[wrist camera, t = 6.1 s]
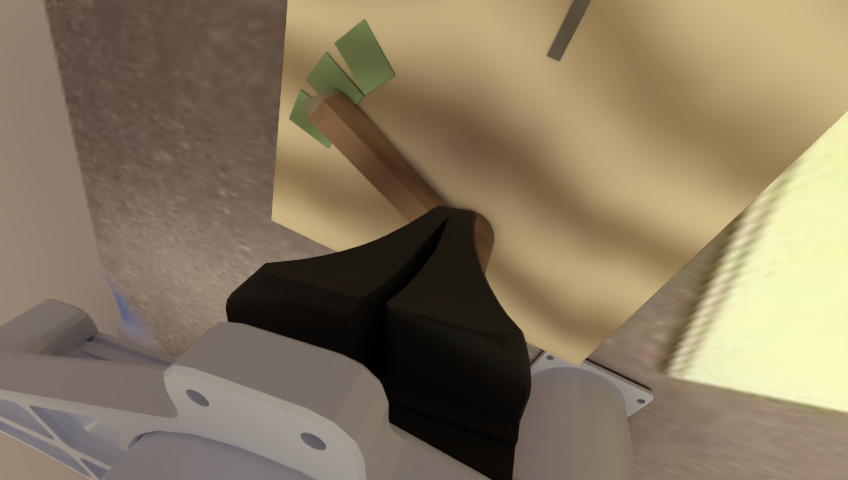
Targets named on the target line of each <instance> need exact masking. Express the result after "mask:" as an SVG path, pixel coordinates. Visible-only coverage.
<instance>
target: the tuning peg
mask: <svg viewBox="0 0 848 480" xmlns="http://www.w3.org/2000/svg"><path fill="white" fill-rule="evenodd" d="M305 111H306V114H307V115H308V117H309V120H310V121H311V122H312V123H313V124H314V125H315V126H316V127H317V128H318V130H319V131H320V132H321V133H322V134H323V135H324V136H325V137H326V138H327V139H328V140H329V141H330V142H331V143H332V144H333V145H334V146H335V147H336V148H337V149H338V150H339V151H340V152H341V153H342V154H343V155H344V156H345V157H346V158H347V159H348V160H349V161H350V162H351V163H352V164H353V165H354V166H355V167H356V168H357V170H358V171H359V172H360V173H361V174H362V175H363V176H364V177H365V178H366V179H367V180H368V181H369V182H370V183H371V184H372V185H373V186H374V187H375V188H376V189H377V190H378V191H379V192H380V193H381V194H382V195H383V196H384V197H385V198H386V199H387V200H388V201H389V202H390V203H391V204H392V205H393V206H394V207H395V209H396V210H397V211H398V212H399V213H400V214H401V215H402V216H403V217H404V218H405V219H406V220H407V221H408V222H409V223H410V222H412V221H414V220H415V219H417V218H419V217H420V216H422V215H423V214H425V213H427V212H428V211H430V210H431V209H433V208H435V207H436V206H438V205H442V206H447V207H449V206H448V205H447V204H446V203H445V202H444V201H443V200H442V198H441V197H440V196H439V195H438V194H437V193H436V192H435V191H434V190H433V189H432V188H431V187H430V186H429V184H428V183H427V182H426V181H425V180H424V179H423V178H422V177H421V176H420V175H419V174H418V173H417V172H416V170H415V169H414V168H413V167H412V166H411V165H410V164H409V163H408V162H407V161H406V160H405V159H404V158H403V157H402V155H401V154H400V153H399V152H398V151H397V150H396V149H395V148H394V147H393V146H392V145H391V144H390V143H389V141H388V140H387V139H386V138H385V137H384V136H383V135H382V134H381V133H380V132H379V131H378V130H377V129H376V128H375V126H374V125H373V124H372V123H371V122H370V121H369V120H368V119H367V118H366V117H365V116H364V115H363V114H362V112H361V111H360V110H359V109H358V108H357V107H356V106H355V105H354V104H353V103H352V102H351V101H350V100H349V99H348V97H347V96H346V95H345V94H344V93H343V92H339V91H338V90H335V89H331V90H329V91H326V92H323V93H321V94H318V95H316V96H313V97H311V98H308V99H307V100H306V102H305ZM462 210H467V209H462ZM467 211H471V210H467ZM472 212H474V211H472ZM474 213H475V214H476V215H477V216H476V222H475V229H474V235H475V242H476V248H477V252H478V256H479V260H480V263H481V266H482V269H483V271H484V274H486V270H487V266H488V263H489V259H490V255H491V252H492V248H493V244H494V232H493V229H492V226H491V225H490V223H489V222H488V221H487V220H486V219H485V218H484V217H483V216H482V215H480V214H478V213H476V212H474Z"/></svg>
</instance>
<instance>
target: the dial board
mask: <svg viewBox="0 0 848 480" xmlns="http://www.w3.org/2000/svg"><path fill="white" fill-rule="evenodd" d="M331 89H335V90H338V91H339V92H343V93H344V94H345V95H346V96H347V97H348V99H349V100H350V101H351V102H352V103H353V104H354V105H355V106H356V107H357V108H358V109H359V110H360V111H361V112H362V114H363V115H364V116H365V117H366V118H367V119H368V120H369V121H370V122H371V123H372V124H373V125H374V126H375V128H376V129H377V130H378V131H379V132H380V133H381V134H382V135H383V136H384V137H385V138H386V139H387V140H388V141H389V143H390V144H391V145H392V146H393V147H394V148H395V149H396V150H397V151H398V152H399V153H400V154H401V155H402V157H403V158H404V159H405V160H406V161H407V162H408V163H409V164H410V165H411V166H412V167H413V168H414V169H415V170H416V172H417V173H418V174H419V175H420V176H421V177H422V178H423V179H424V180H425V181H426V182H427V183H428V184H429V186H430V187H431V188H432V189H433V190H434V191H435V192H436V193H437V194H438V195H439V196H440V197H441V198H442V200H443V201H444V202H445V203H446V204H447V205H448V206H449V207H452V208H457V209H467V210H471V211H474V212H476V213H478V214H480V215H482V216H483V217H484V218H485V219H486V220H487V221H488V222H489V223H490V225H491V226H492V229H493V232H494V244H493V248H492V252H491V255H490V259H489V263H488V266H487V270H486V274H485V276H486V279H487V281H488V283H489V285H490V287H491V289H492V291H493V292H494V294H495V296H496V298H497V299H498V301H499V303H500V304H501V306H502V307H503V309H504V310H505V312H506V313H507V314H508V316H509V317H510V318H511V319H512V320H513V321H514V322H515V323H516V325H517V326H518V327H519V328H520V329H521V330H522V332H523V333H524V337H525V341H526V342H527V343H529V344H532V345H534V346H536V347H538V348H540V349H542V350H544V351H546V352H548V353H550V354H552V355H555V356H557V357H559V358H561V359H563V360H565V361H567V362H569V363H571V364H573V365H575V366H578V365H579V364H581V363H582V362H583V361H584V360H585V359H586V358H587V357H588V356H589V355H590V354H591V353H592V352H593V351H594V350H595V349H596V348H597V347H598V346H600V345H601V344H602V343H603V342H604V341H605V340H606V339H607V338H608V337H609V336H610V335H611V334H612V333H613V332H614V331H615V330H616V329H618V328H619V327H620V326H621V325H622V324H623V323H624V322H625V321H626V320H627V319H628V318H629V317H630V316H631V315H632V314H633V313H634V312H636V311H637V310H638V309H639V308H640V307H641V306H642V305H643V304H644V303H645V302H646V301H647V300H648V299H649V298H650V297H651V296H652V295H653V294H655V293H656V292H657V291H658V290H659V289H660V288H661V287H662V286H663V285H664V284H665V283H666V282H667V281H668V280H669V279H670V278H671V277H673V276H674V275H675V274H676V273H677V272H678V271H679V270H680V269H681V268H682V267H683V266H684V265H685V264H686V263H687V262H688V261H689V260H691V259H692V258H693V257H694V256H695V255H696V254H697V253H698V252H699V251H700V250H701V249H702V248H703V247H704V246H705V245H706V244H707V243H709V242H710V241H711V240H712V239H713V238H714V237H715V236H716V235H717V234H718V233H719V232H720V231H721V230H722V229H723V228H724V227H725V226H726V225H728V224H729V223H730V222H731V221H732V220H733V219H734V218H735V217H736V216H737V215H738V214H739V213H740V212H741V211H742V210H743V209H744V208H746V207H747V206H748V205H749V204H750V203H751V202H752V201H753V200H754V199H755V198H756V197H757V196H758V195H759V194H760V193H761V192H762V191H764V190H765V189H766V188H767V187H768V186H769V185H770V184H771V183H772V182H773V181H774V180H775V179H776V178H777V177H778V176H779V175H780V174H781V173H783V172H784V171H785V170H786V169H787V168H788V167H789V166H790V165H791V164H792V163H793V162H794V161H795V160H796V159H797V158H798V157H799V156H801V155H802V154H803V153H804V152H805V151H806V150H807V149H808V148H809V147H810V146H811V145H812V144H813V143H814V142H815V141H816V140H817V139H819V138H820V137H821V136H822V135H823V134H824V133H825V132H826V131H827V130H828V129H829V128H830V127H831V126H832V125H833V124H834V123H835V122H837V121H838V120H839V119H840V118H841V117H842V116H843V115H844V114H845V113H846V112H847V111H848V0H288V5H287V19H286V32H285V46H284V59H283V72H282V86H281V99H280V113H279V126H278V140H277V153H276V167H275V180H274V193H273V207H272V221H274V222H276V223H278V224H281V225H283V226H285V227H287V228H289V229H291V230H293V231H295V232H297V233H299V234H301V235H304V236H306V237H308V238H310V239H312V240H314V241H316V242H318V243H320V244H322V245H324V246H327V247H329V248H331V249H333V250H335V251H337V252H340V251H343V250H347V249H350V248H354V247H357V246H360V245H363V244H366V243H369V242H371V241H374V240H376V239H379V238H381V237H383V236H385V235H388V234H389V233H391V232H393V231H395V230H397V229H399V228H401V227H403V226H405V225H407V224H409V222H408V221H407V220H406V219H405V218H404V217H403V216H402V215H401V214H400V213H399V212H398V211H397V210H396V209H395V207H394V206H393V205H392V204H391V203H390V202H389V201H388V200H387V199H386V198H385V197H384V196H383V195H382V194H381V193H380V192H379V191H378V190H377V189H376V188H375V187H374V186H373V185H372V184H371V183H370V182H369V181H368V180H367V179H366V178H365V177H364V176H363V175H362V174H361V173H360V172H359V171H358V170H357V168H356V167H355V166H354V165H353V164H352V163H351V162H350V161H349V160H348V159H347V158H346V157H345V156H344V155H343V154H342V153H341V152H340V151H339V150H338V149H337V148H336V147H335V146H334V145H333V144H332V143H331V142H330V141H329V140H328V139H327V138H326V137H325V136H324V135H323V134H322V133H321V132H320V131H319V130H318V128H317V127H316V126H315V125H314V124H313V123H312V122H311V121H310V120H309V117H308V115H307V114H306V111H305V102H306V100H307V99H308V98H311V97H313V96H316V95H318V94H321V93H323V92H326V91H329V90H331Z"/></svg>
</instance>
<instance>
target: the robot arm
mask: <svg viewBox="0 0 848 480" xmlns="http://www.w3.org/2000/svg"><path fill="white" fill-rule="evenodd" d="M476 216H477V215H476V214H475V213H474V212H472V211H467V210H462V209H457V208H452V207H447V206H442V205H438V206H436V207H435V208H433V209H431V210H430V211H428V212H427V213H425V214H423V215H422V216H420V217H419V218H417V219H415V220H414V221H412V222H410V223H409V224H407V225H405V226H403V227H401V228H399V229H397V230H395V231H393V232H391V233H389V234H388V235H385V236H383V237H381V238H379V239H376V240H374V241H371V242H369V243H366V244H363V245H360V246H357V247H354V248H350V249H347V250H343V251H340V252H337V253H332V254H328V255H323V256H318V257H313V258H307V259H300V260H292V261H283V262H273V263H265V264H264V265H263V266H262V267H261V268H260V269H258V270H257V271H256V272H255V273H254V274H253V275H252V276H251V277H249V278H248V279H247V280H246V281H245V282H244V283H243V284H241V285H240V286H239V287H238V288H237V289H236V290H235V291H234V292H232V294H231V295H230V296H229V298H228V299H227V304H226V313H227V318H228V322H218V323H217V324H215V325H214V326H213V327H212V328H210V329H209V330H208V331H207V332H206V333H205V334H204V335H203V336H201V337H200V338H199V339H198V340H197V341H196V342H195V343H194V344H193V345H192V346H191V347H190V348H189V349H188V350H186V351H185V352H184V353H183V354H182V355H181V356H180V357H179V358H178V359H175V358H173V357H170V356H167V355H164V354H161V353H158V352H155V351H153V350H150V349H147V348H144V347H141V346H138V345H136V344H133V343H130V342H127V341H124V340H121V339H119V338H115V337H113V336H110V335H107V334H104V333H101V332H99V331H98V330H97V329H98V328H97V326H96V324H95V323H94V321H93V319H92V318H91V317H90V316H89V315H88V314H87V313H86V312H84V311H83V310H82V309H80V308H78V307H75V306H72V305H69V304H66V303H63V302H60V301H57V300H54V299H47V300H45V301H44V302H42V303H41V304H38V305H37V306H35V307H33V308H31V309H30V310H28V311H26V312H25V313H23V314H21V315H19V316H18V317H16V318H14V319H12V320H11V321H9V322H7V323H5V324H4V325H2V326H0V432H1V433H4V434H5V435H8V436H10V437H12V438H14V439H16V440H18V441H20V442H22V443H24V444H26V445H28V446H30V447H32V448H34V449H35V450H38V451H39V452H41V453H43V454H45V455H47V456H49V457H50V458H52V459H54V460H56V461H58V462H60V463H61V464H63V465H65V466H67V467H69V468H70V469H72V470H74V471H76V472H78V473H79V474H81V475H83V476H85V477H86V478H88V479H90V480H638V478H637V472H636V466H635V460H634V454H633V448H632V442H631V436H630V430H629V424H628V417H629V416H631V415H632V414H634V413H635V412H636V411H638V410H639V409H641V408H642V407H644V406H645V405H647V404H648V403H649V402H651V401H652V400H653V399H654V396H653V393H652V392H651V391H650V390H648V389H646V388H644V387H642V386H639V385H637V384H635V383H633V382H631V381H629V380H627V379H625V378H623V377H621V376H618V375H616V374H614V373H612V372H610V371H608V370H606V369H604V368H602V367H600V366H597V365H595V364H593V363H591V362H589V361H587V360H584V361H583V362H582V363H581V364H579V365H578V366H575V365H573V364H571V363H569V362H567V361H565V360H563V359H561V358H559V357H557V356H555V355H552V354H550V353H548V352H546V351H543V353H542V354H541V355H540V356H539V357H538V358H537V359H536V360H535V361H534V362H533V364H532V365H531V366H530V361H529V355H528V350H527V346H526V341H525V337H524V333H523V332H522V330H521V329H520V328H519V327H518V326H517V325H516V323H515V322H514V321H513V320H512V319H511V318H510V317H509V316H508V314H507V313H506V312H505V310H504V309H503V307H502V306H501V304H500V303H499V301H498V299H497V298H496V296H495V294H494V292H493V291H492V289H491V287H490V285H489V283H488V281H487V279H486V276H485V274H484V271H483V269H482V266H481V263H480V260H479V256H478V252H477V248H476V242H475V235H474V229H475V222H476ZM548 355H551V356H548Z"/></svg>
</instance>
